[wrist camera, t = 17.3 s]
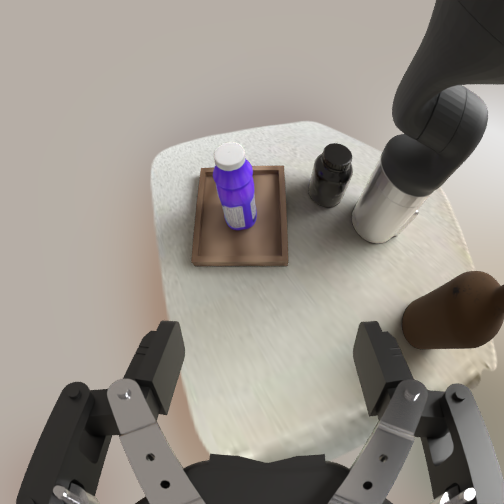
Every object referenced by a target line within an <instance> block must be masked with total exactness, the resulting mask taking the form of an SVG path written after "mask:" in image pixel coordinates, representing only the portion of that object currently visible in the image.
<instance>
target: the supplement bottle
mask: <svg viewBox="0 0 504 504" xmlns="http://www.w3.org/2000/svg"><path fill="white" fill-rule="evenodd" d="M351 161H352V154H351V151H349V149H348V148H347V147H345V146H343V145H341V144H337V143H336V144H335V143H334V144H329V145H327V146H326V147H325V148H324V151H323V153H322V154H320V155H319V156H318V157H317V158H316V160H315V163H314V167H313V171H312V175H311V180H310V184H309V194H310V197H311V198H312V200H313V201H314V202H315V203H317V204H318V205H321V206H324V207H332V206H335V205H337V204H338V203H339V202H340V201H341V200H342V198H343V196H344V193H345V191H346V189H347V187H348V184H349V182H350V180H351V177H352V174H353V168H352V165H351Z"/></svg>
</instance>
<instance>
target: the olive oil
mask: <svg viewBox="0 0 504 504" xmlns="http://www.w3.org/2000/svg"><path fill="white" fill-rule="evenodd" d="M503 320H504V285H502V286H500V284H499V283H498V282H497V281H496V280H495V279H494V278H493V277H492V276H491V275H489V274H487V273H484V272H481V271H470V272H465V273H463V274H461V275H459V276H457V277H455V278H454V279H452V280H451V281H449V282H447V283H446V284H444V285H442V286H441V287H439V288H437V289H435V290H434V291H432V292H430V293H428V294H426V295H424V296H422V297H420V298H418V299H416V300H415V301H413V302H412V303H411V304H410V305H409V306H408V307H407V309H406V310H405V313H404V316H403V320H402V328H403V333H404V336H405V338H406V340H407V341H408V342H409V343H410V344H411V345H412V346H413V347H415V348H418V349H465V348H476V347H479V346H482V345H484V344H485V343H487V342H488V341H490V340H491V339H492V338H493V337H494V336H495V335H496V334H497V333H498V331H499V329H500V328H501V326H502V323H503Z"/></svg>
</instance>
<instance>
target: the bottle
mask: <svg viewBox="0 0 504 504" xmlns="http://www.w3.org/2000/svg"><path fill="white" fill-rule="evenodd" d="M214 159H215V164H216V166H215V168H214V171H213V179H214V181H215V183H216V189H217V193H218V197H219V199H220V201H221V205H222V208H223V212H224V217H225V221H226V223H227V225H228V226H229V227H230V228H231V229H233V230H243V229H248V228H251V227H252V226H253V225H254V224H255V222H256V217H257V210H256V205H255V196H254V181H253V177H252V175H253V169H252V166H251V164H250V163H249V162H248V161H247V160H246V156H245V150H244V148H243V147H242V146H241V145H240V144H238V143H235V142H227V143H223V144H221V145H220V146H218V147H217V148H216V150H215V152H214Z"/></svg>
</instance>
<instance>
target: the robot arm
mask: <svg viewBox="0 0 504 504" xmlns="http://www.w3.org/2000/svg"><path fill="white" fill-rule="evenodd" d="M465 84H504V0H436V3H435V7H434V10H433V13H432V17H431V20H430V23H429V26H428V29H427V31H426V34H425V36H424V38H423V40H422V43H421V45H420V47H419V49H418V50H417V52H416V54H415V56H414V58H413V60H412V62H411V63H410V65H409V67H408V69H407V71H406V73H405V74H404V76H403V78H402V80H401V83H400V84H399V86H398V89H397V91H396V94H395V97H394V101H393V107H392V116H393V121H394V123H395V125H396V126H397V127H398V128H399V129H400V130H401V131H402V132H403V133H404V134H401V135H397V136H395V137H393V138H392V139H391V140H389V142H388V143H387V145H386V146H385V148H384V151H383V153H382V155H381V157H380V159H379V161H378V163H377V165H376V167H375V169H374V171H373V173H372V175H371V177H370V179H369V181H368V183H367V185H366V187H365V188H364V190H363V192H362V194H361V196H360V198H359V200H358V202H357V204H356V205H355V207H354V209H353V212H352V223H353V226H354V228H355V230H356V232H357V233H358V234H359V235H360V236H361V237H362V238H363V239H365V240H366V241H369V242H371V243H384V242H386V241H388V240H389V239H390V238H392V237H393V236H398V235H399V234H400V233H401V232H402V231H403V230H404V229H405V228H406V227H407V225H408V224H409V223H410V222H411V221H412V220H413V219H414V218H415V217H416V216H417V215H418V209H419V207H420V206H421V205H422V204H423V203H424V202H425V201H426V199H427V198H428V197H429V196H430V195H431V194H432V192H433V191H434V190H436V189H438V188H439V187H440V186H441V185H442V184H443V183H444V182H445V181H446V180H447V179H448V178H449V177H450V176H451V175H452V174H453V173H454V172H455V170H456V169H458V168H459V167H460V165H461V164H462V163H463V162H464V161H465V160H466V159H467V158H468V157H469V156H470V155H471V153H472V152H473V151H474V150H475V148H476V147H477V145H478V144H479V142H480V140H481V139H482V137H483V134H484V132H485V129H486V126H487V121H488V110H487V107H486V104H485V103H484V101H483V100H482V99H481V98H480V97H479V96H477V95H476V94H475V93H473V92H472V91H470V90H468V89H467V88H465V87H464V86H462V85H465ZM184 357H185V347H184V342H183V338H182V333H181V329H180V324H179V322H177V321H161V322H160V324H159V326H158V328H157V331H150V332H149V333H148V334H147V335H146V336H144V337H143V339H142V341H141V343H140V345H139V348H138V349H137V351H136V354H135V355H134V357H133V359H132V361H131V363H130V365H129V367H128V369H127V371H126V374H125V376H124V378H123V379H120V380H117V381H115V382H114V383H112V384H111V385H110V387H109V388H108V389H103V390H89V388H88V386H87V385H86V384H84V383H82V382H73V383H70V384H68V385H67V386H66V387H65V388H64V389H63V390H62V392H61V394H60V396H59V398H58V400H57V402H56V404H55V406H54V408H53V411H52V412H51V415H50V417H49V419H48V421H47V423H46V425H45V427H44V430H43V432H42V434H41V437H40V439H39V441H38V444H37V446H36V449H35V450H34V453H33V455H32V458H31V460H30V463H29V465H28V468H27V471H26V473H25V476H24V479H23V481H22V484H21V488H20V490H19V493H18V496H17V500H16V504H100V502H99V501H98V500H97V498H95V493H96V490H97V486H98V482H99V478H100V475H101V471H102V468H103V464H104V461H105V457H106V454H107V451H108V447H109V444H110V441H111V438H112V435H119V438H120V441H121V443H122V446H123V448H124V451H125V453H126V456H127V457H128V460H129V463H130V465H131V467H132V469H133V471H134V473H135V475H136V478H137V480H138V482H139V484H140V486H141V488H142V489H143V492H144V493H145V496H146V497H144V498H143V499H141V500H140V501H138V502H137V503H135V504H393V503H391V502H390V501H389V500H387V499H386V496H387V495H388V493H389V491H390V489H391V487H392V486H393V484H394V482H395V480H396V478H397V476H398V474H399V472H400V470H401V468H402V466H403V464H404V462H405V460H406V458H407V456H408V453H409V451H410V449H411V447H412V444H413V442H414V439H415V437H421V441H422V445H423V449H424V453H425V457H426V462H427V466H428V471H429V476H430V481H431V486H432V491H433V497H434V500H433V501H432V502H431V503H430V504H504V480H503V476H502V473H501V469H500V466H499V463H498V460H497V456H496V453H495V451H494V447H493V445H492V442H491V439H490V436H489V433H488V431H487V428H486V426H485V423H484V420H483V418H482V416H481V413H480V411H479V408H478V406H477V404H476V401H475V399H474V397H473V395H472V392H471V391H470V389H469V388H468V387H466V386H465V385H462V384H452V385H450V386H449V387H448V388H447V389H446V391H445V392H441V391H430V390H427V389H426V387H425V386H424V385H423V384H422V383H421V382H419V381H417V380H414V379H413V376H412V374H411V372H410V370H409V367H408V365H407V363H406V361H405V359H404V356H403V355H402V352H401V350H400V349H399V346H398V343H397V341H396V339H395V338H394V337H393V336H392V335H391V334H390V333H389V332H388V331H387V332H382V330H381V328H380V326H379V323H378V322H377V321H371V322H361V323H360V324H359V328H358V332H357V336H356V340H355V344H354V348H353V358H354V362H355V366H356V369H357V373H358V376H359V380H360V384H361V387H362V391H363V395H364V398H365V402H366V406H367V410H368V414H369V416H376V415H378V419H379V421H378V423H377V425H376V427H375V428H374V430H373V432H372V434H371V435H370V437H369V439H368V441H367V442H366V444H365V446H364V447H363V449H362V450H361V452H360V454H359V455H358V457H357V458H356V460H355V462H354V463H353V464H352V466H351V468H350V469H348V468H347V467H345V466H343V465H340V464H338V463H334V462H330V461H325V454H322V455H309V456H296V457H292V458H288V459H284V460H280V461H275V462H271V463H264V462H260V461H256V460H252V459H248V458H244V457H240V456H231V455H218V454H210V460H208V461H202V462H198V463H195V464H192V465H190V466H187V467H186V468H183V467H182V465H181V464H180V462H179V460H178V459H177V457H176V455H175V454H174V452H173V450H172V449H171V447H170V445H169V443H168V442H167V440H166V438H165V436H164V434H163V432H162V431H161V429H160V427H159V425H158V423H157V418H158V414H163V415H167V414H168V410H169V407H170V403H171V400H172V397H173V393H174V390H175V386H176V383H177V380H178V377H179V374H180V370H181V367H182V364H183V361H184Z"/></svg>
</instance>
